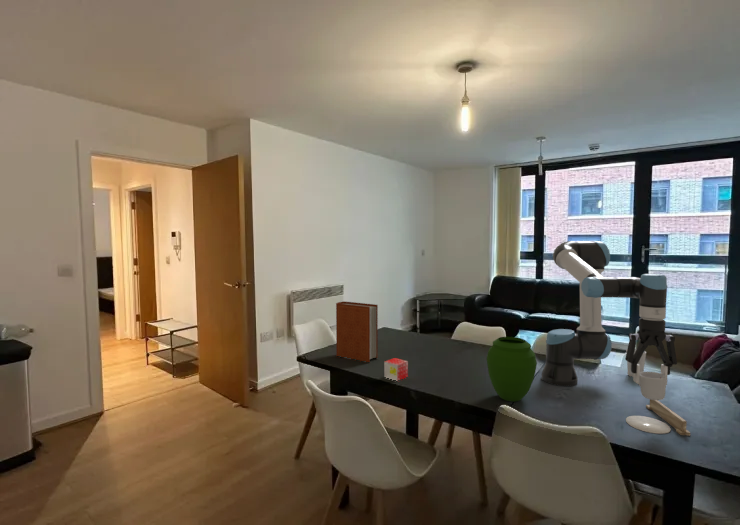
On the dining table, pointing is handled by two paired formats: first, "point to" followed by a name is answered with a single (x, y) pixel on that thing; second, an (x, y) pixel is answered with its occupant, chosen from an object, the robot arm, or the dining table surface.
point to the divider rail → (669, 416)
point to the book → (357, 330)
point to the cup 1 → (641, 363)
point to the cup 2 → (653, 385)
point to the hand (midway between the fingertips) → (649, 382)
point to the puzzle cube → (396, 369)
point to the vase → (511, 367)
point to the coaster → (648, 424)
